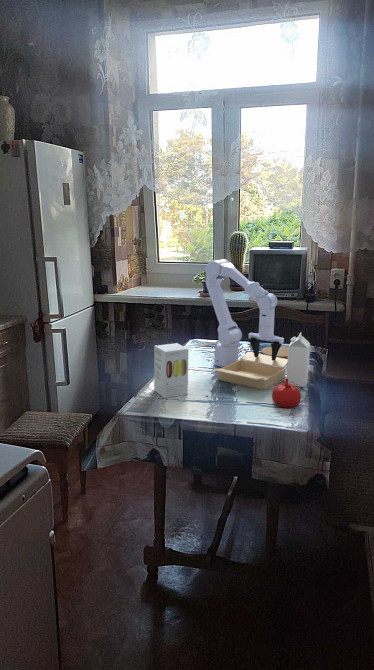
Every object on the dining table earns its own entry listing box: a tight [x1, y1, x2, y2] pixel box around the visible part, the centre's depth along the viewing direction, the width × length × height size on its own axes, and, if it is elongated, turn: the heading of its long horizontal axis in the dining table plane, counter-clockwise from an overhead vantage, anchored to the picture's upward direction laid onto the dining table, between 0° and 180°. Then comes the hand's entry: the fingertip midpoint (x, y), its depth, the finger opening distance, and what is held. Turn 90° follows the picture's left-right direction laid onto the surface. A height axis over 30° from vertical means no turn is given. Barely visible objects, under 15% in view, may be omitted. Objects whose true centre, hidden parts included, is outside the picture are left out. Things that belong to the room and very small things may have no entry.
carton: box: [217, 359, 286, 391], centre depth 195 cm, size 20×17×4 cm
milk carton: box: [286, 332, 311, 388], centre depth 189 cm, size 7×7×19 cm
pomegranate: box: [271, 377, 302, 409], centre depth 170 cm, size 10×10×9 cm
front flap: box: [212, 367, 264, 380], centre depth 186 cm, size 19×6×1 cm, turn 54°
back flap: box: [240, 351, 288, 369], centre depth 203 cm, size 19×6×1 cm, turn 54°
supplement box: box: [153, 342, 189, 399], centre depth 179 cm, size 10×9×17 cm
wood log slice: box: [260, 346, 288, 359], centre depth 225 cm, size 16×16×3 cm
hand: (265, 358), depth 203 cm, fingers open, 7 cm apart
